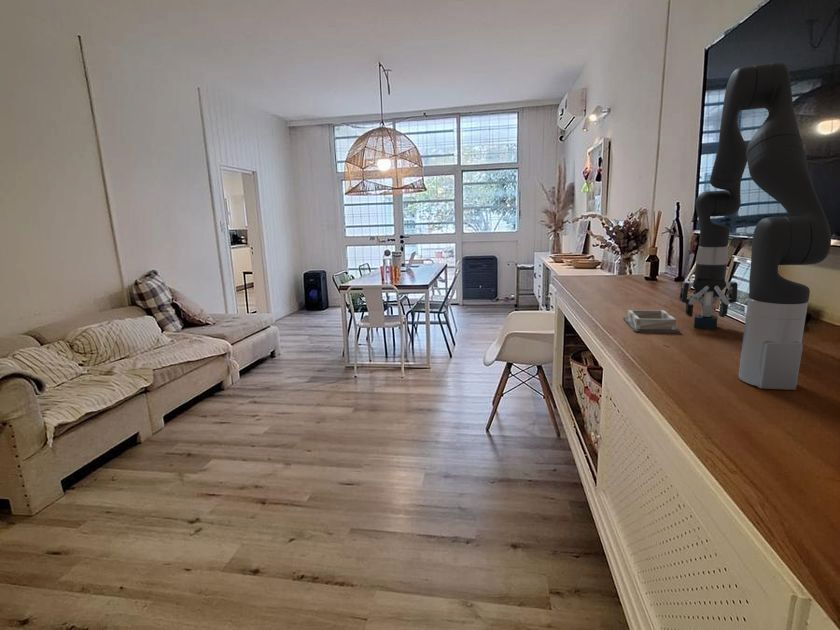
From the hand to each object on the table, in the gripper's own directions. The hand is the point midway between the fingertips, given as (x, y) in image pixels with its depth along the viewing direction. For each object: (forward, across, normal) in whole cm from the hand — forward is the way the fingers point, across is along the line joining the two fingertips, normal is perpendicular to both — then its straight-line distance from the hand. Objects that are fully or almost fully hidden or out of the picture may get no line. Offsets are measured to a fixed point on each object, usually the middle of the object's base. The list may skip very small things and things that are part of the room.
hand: (705, 316), depth 130 cm
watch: (+3, 0, 0) cm, 3 cm away
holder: (+3, -15, 0) cm, 15 cm away
